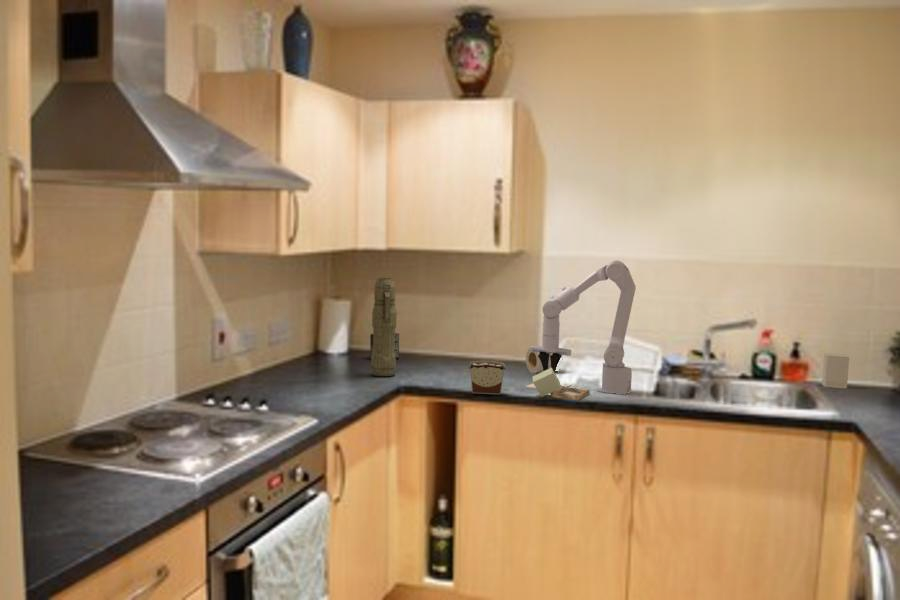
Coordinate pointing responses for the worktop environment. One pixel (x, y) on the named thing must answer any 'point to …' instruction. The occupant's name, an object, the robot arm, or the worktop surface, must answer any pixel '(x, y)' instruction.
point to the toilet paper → (535, 362)
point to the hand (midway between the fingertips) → (549, 374)
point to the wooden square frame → (559, 394)
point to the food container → (486, 376)
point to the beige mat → (534, 387)
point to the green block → (546, 382)
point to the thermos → (384, 328)
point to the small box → (395, 345)
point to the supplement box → (835, 370)
